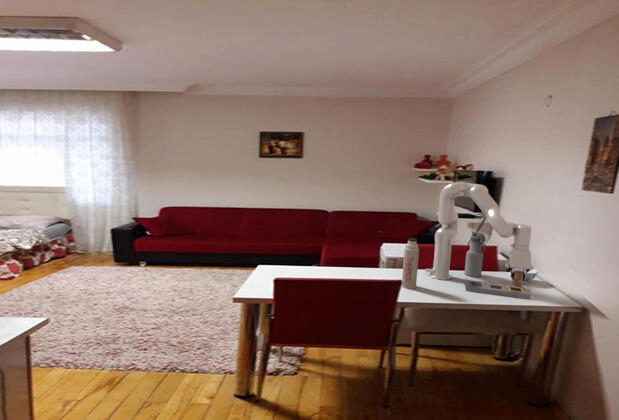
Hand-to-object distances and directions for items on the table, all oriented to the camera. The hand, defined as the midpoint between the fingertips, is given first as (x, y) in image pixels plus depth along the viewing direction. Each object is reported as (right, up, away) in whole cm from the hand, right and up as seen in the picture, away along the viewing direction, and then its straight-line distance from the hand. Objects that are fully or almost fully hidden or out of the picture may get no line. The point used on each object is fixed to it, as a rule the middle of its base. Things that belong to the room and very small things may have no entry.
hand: (517, 279), depth 201 cm
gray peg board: (-10, -8, +5) cm, 13 cm away
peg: (0, -4, +1) cm, 4 cm away
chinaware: (+16, -6, +23) cm, 29 cm away
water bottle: (-11, -4, +32) cm, 34 cm away
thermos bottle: (-58, -6, +7) cm, 59 cm away
